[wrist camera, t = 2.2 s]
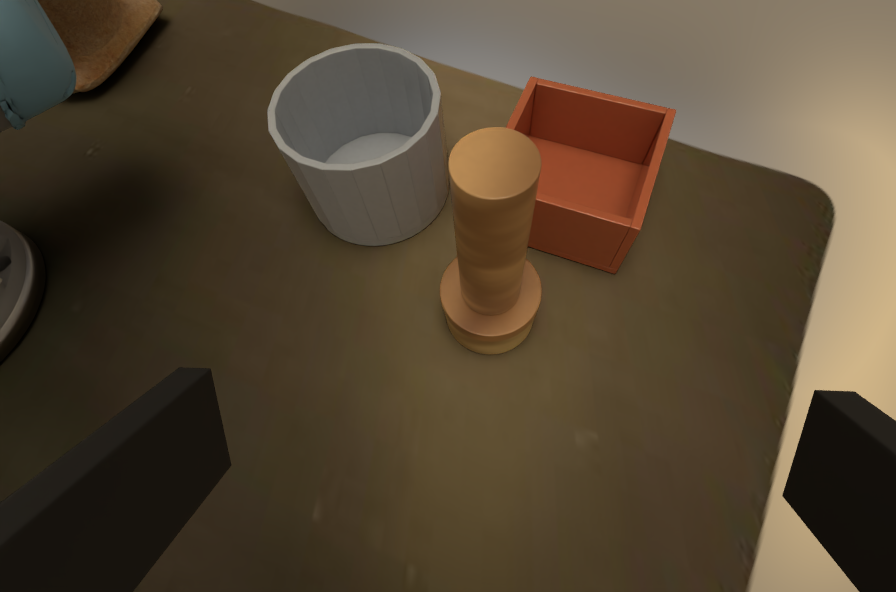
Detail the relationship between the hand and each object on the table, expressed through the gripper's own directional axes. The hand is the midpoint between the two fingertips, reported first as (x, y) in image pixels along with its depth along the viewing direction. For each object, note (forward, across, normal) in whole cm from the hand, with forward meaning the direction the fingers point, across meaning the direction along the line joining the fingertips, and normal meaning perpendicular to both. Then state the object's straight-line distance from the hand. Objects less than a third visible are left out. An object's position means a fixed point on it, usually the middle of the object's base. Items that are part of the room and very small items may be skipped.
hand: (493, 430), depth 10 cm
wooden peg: (+20, 0, -5) cm, 21 cm away
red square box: (+27, +6, +2) cm, 28 cm away
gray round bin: (+28, -9, +2) cm, 29 cm away
